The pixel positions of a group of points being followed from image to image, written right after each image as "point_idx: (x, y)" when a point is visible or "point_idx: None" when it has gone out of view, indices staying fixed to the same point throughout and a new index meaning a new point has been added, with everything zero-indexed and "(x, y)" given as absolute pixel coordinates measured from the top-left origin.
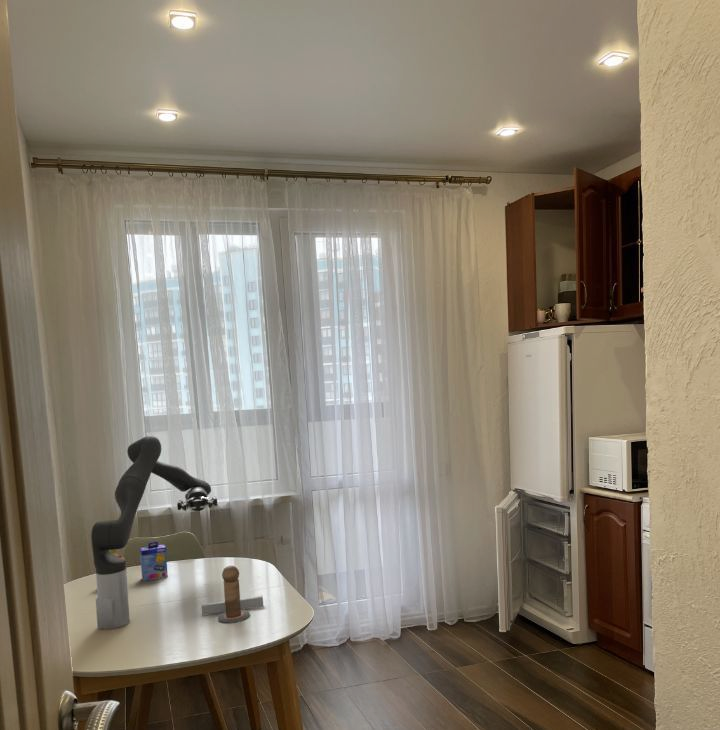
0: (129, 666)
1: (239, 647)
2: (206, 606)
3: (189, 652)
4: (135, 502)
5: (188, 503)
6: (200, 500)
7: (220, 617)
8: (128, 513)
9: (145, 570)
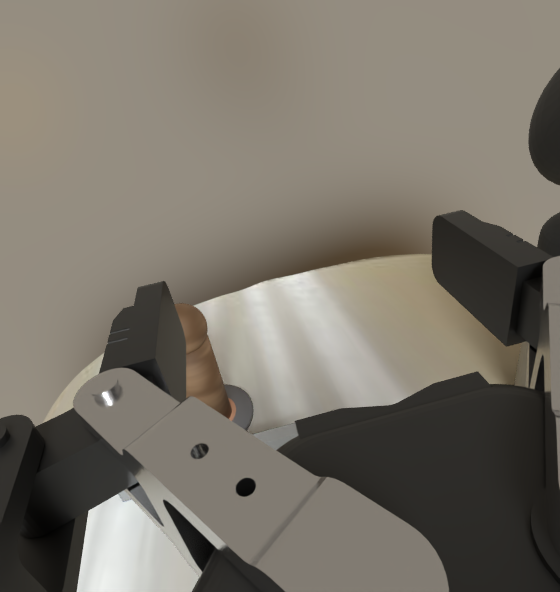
0: (362, 265)
1: (202, 307)
2: (287, 427)
3: (281, 294)
4: None
5: (538, 344)
6: (327, 427)
7: (245, 405)
8: None
9: None
